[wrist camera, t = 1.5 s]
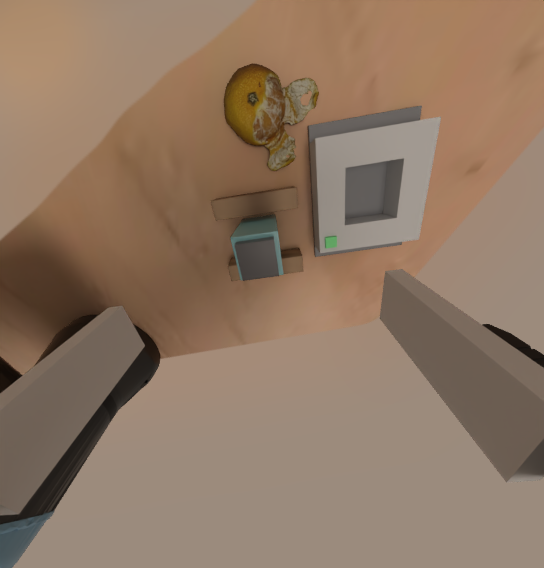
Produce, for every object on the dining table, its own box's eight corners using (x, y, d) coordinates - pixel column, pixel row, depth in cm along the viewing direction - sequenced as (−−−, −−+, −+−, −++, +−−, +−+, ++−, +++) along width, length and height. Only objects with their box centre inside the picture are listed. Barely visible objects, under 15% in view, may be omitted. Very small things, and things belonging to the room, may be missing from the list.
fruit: (288, 176, 23) (291, 176, 20) (216, 145, 22) (207, 139, 19) (322, 86, 20) (332, 68, 17) (239, 41, 18) (233, 12, 15)
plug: (249, 250, 27) (239, 285, 18) (242, 219, 25) (228, 241, 16) (279, 245, 27) (284, 279, 18) (275, 214, 25) (278, 233, 16)
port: (314, 255, 27) (321, 266, 24) (307, 126, 21) (315, 116, 18) (399, 243, 27) (418, 253, 23) (418, 107, 20) (448, 92, 17)
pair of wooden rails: (235, 271, 28) (231, 281, 26) (217, 198, 24) (210, 201, 21) (300, 262, 28) (303, 271, 25) (293, 186, 24) (296, 187, 21)
